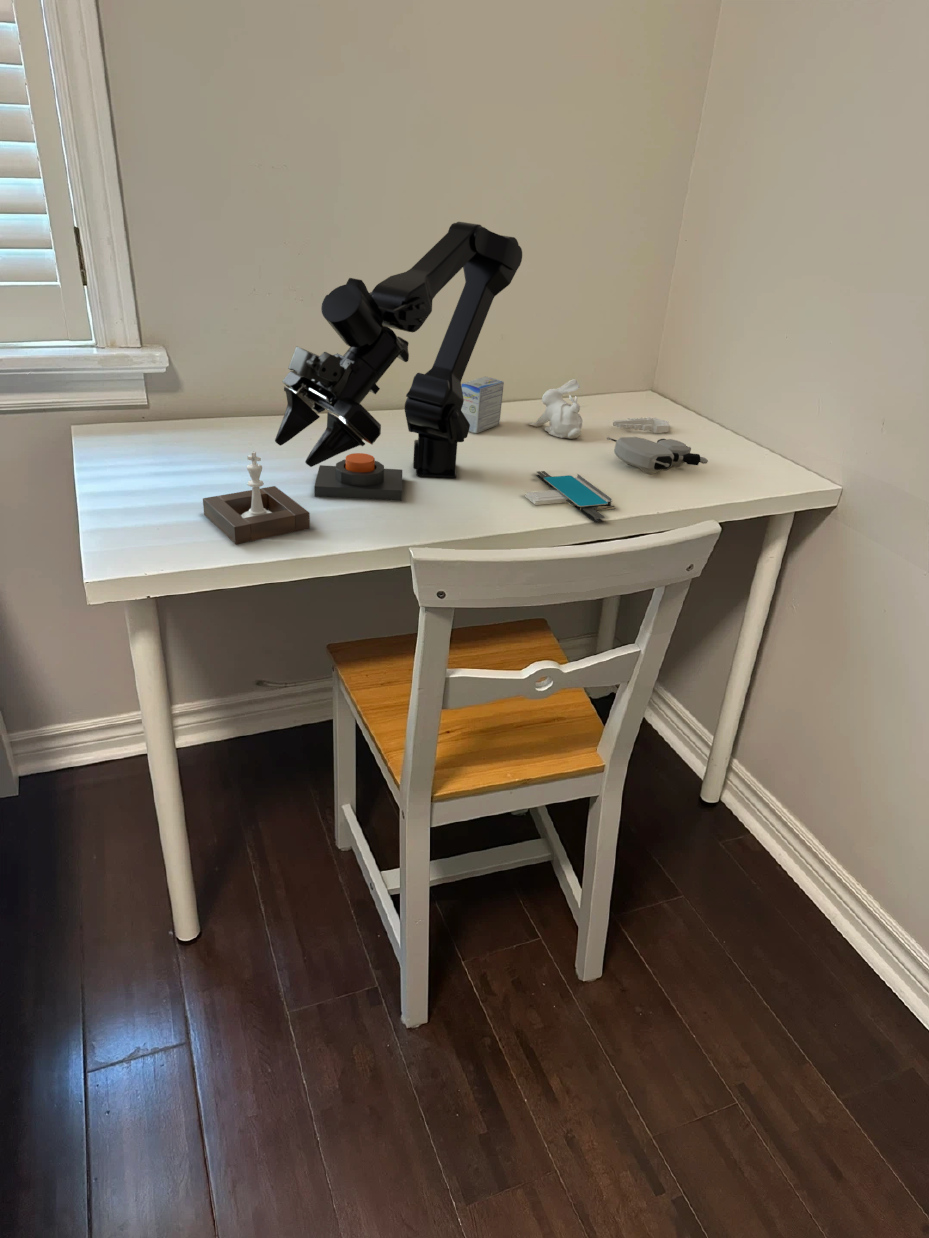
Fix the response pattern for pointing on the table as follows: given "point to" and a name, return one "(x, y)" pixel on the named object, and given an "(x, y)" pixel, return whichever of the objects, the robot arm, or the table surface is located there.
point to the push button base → (358, 483)
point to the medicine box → (482, 403)
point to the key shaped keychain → (643, 424)
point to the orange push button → (360, 462)
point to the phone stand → (572, 495)
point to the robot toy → (655, 453)
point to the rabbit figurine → (561, 412)
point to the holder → (242, 530)
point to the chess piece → (255, 488)
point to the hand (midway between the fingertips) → (292, 453)
